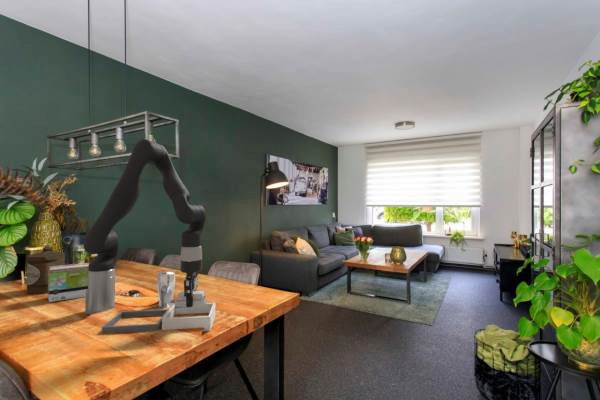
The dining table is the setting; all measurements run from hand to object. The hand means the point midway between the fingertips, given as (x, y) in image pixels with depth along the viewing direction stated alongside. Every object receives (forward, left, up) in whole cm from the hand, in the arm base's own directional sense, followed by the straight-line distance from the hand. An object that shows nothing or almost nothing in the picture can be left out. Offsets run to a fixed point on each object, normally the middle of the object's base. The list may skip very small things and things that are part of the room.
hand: (191, 303), depth 110 cm
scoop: (0, 0, 0) cm, 0 cm away
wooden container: (-81, +54, -8) cm, 97 cm away
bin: (0, 0, -7) cm, 7 cm away
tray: (-18, 0, -7) cm, 20 cm away
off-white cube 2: (+2, 0, 0) cm, 2 cm away
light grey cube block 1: (-2, 0, 0) cm, 2 cm away
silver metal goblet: (-14, +18, -8) cm, 24 cm away
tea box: (-63, +40, -8) cm, 75 cm away
